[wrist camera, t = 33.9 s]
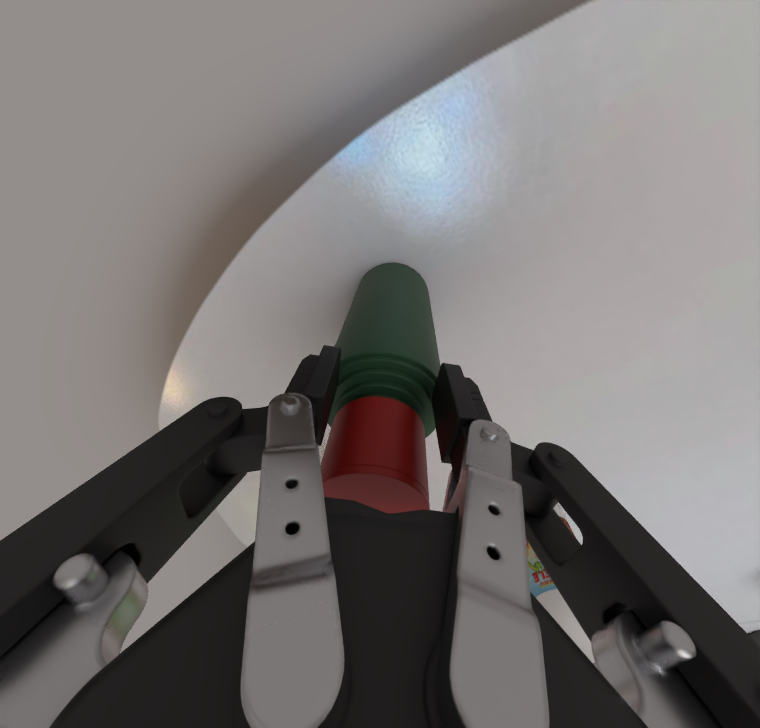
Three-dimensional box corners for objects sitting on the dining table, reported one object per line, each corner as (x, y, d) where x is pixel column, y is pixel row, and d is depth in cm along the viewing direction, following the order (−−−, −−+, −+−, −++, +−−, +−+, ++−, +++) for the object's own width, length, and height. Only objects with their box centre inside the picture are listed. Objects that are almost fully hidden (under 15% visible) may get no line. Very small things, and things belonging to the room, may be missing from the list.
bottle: (373, 339, 29) (334, 548, 13) (345, 278, 26) (247, 461, 10) (437, 318, 27) (479, 531, 11) (415, 250, 24) (430, 418, 8)
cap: (355, 466, 15) (342, 543, 12) (315, 409, 13) (287, 485, 10) (435, 450, 14) (444, 531, 11) (405, 384, 12) (405, 462, 9)
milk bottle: (565, 515, 42) (684, 740, 25) (514, 531, 44) (589, 745, 27) (546, 486, 39) (667, 721, 22) (492, 505, 41) (562, 728, 24)
